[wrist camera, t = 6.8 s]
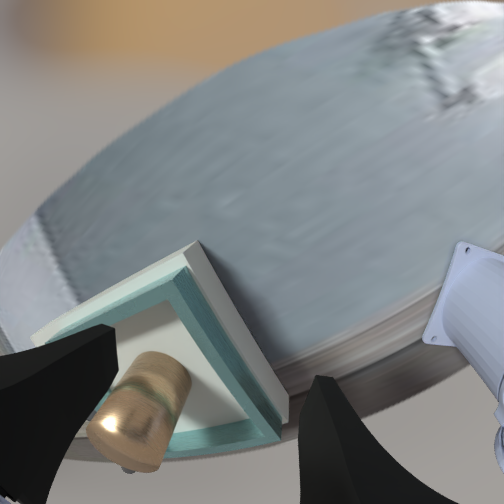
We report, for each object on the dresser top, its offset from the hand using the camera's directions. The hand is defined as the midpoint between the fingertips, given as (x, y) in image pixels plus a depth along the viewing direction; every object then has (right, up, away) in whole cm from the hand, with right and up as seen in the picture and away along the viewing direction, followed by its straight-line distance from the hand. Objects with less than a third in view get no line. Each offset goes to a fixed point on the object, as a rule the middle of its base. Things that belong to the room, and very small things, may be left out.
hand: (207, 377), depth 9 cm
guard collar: (-5, -5, +9) cm, 11 cm away
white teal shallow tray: (-7, -5, +13) cm, 15 cm away
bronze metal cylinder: (-5, -4, +9) cm, 11 cm away
